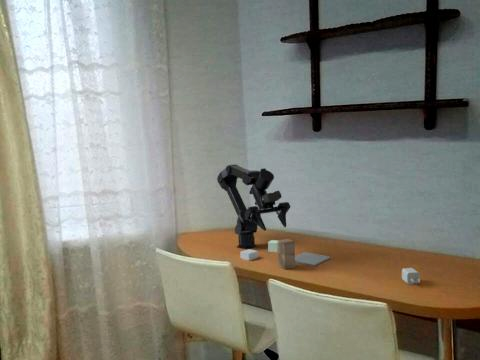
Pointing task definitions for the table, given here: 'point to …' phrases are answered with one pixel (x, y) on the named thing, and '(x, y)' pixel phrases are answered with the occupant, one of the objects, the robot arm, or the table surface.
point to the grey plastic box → (249, 254)
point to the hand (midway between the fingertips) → (275, 228)
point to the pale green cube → (273, 246)
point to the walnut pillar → (286, 253)
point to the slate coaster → (310, 258)
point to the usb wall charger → (410, 276)
